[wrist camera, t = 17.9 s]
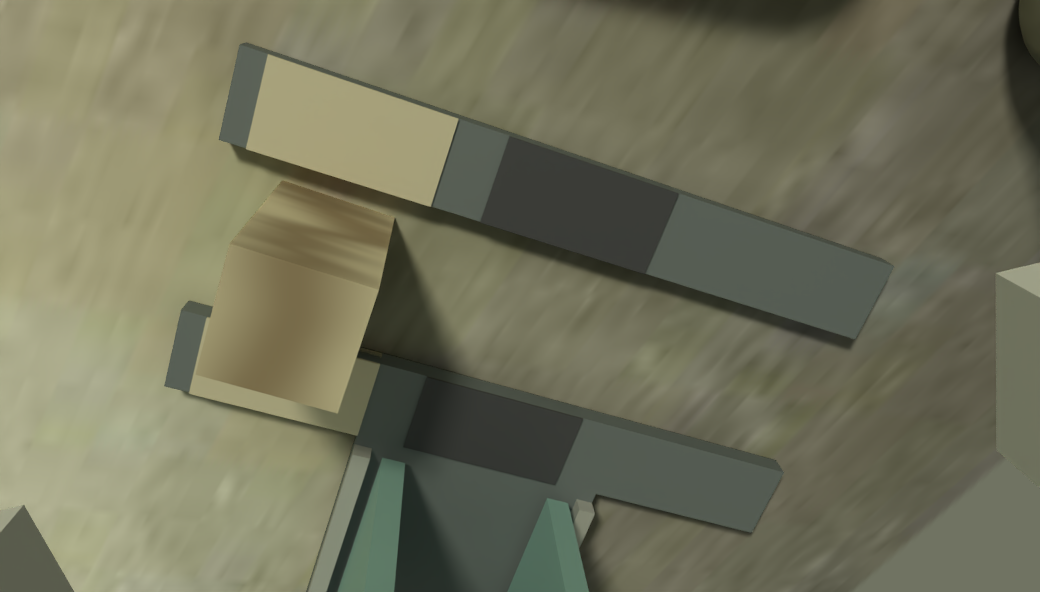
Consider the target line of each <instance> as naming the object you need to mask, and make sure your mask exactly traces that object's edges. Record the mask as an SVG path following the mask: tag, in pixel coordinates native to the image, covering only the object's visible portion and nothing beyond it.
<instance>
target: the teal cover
mask: <svg viewBox="0 0 1040 592" xmlns="http://www.w3.org/2000/svg"><path fill="white" fill-rule="evenodd" d="M404 471H405V463H403V462H399V461H395V460H391V459H386V458H382V460H381V463H380V466H379V469H378V472H377V475H376V478H375V481H374V484H373V487H372V490H371V493H370V496H369V499H368V502H367V505H366V508H365V511H364V514H363V517H362V520H361V523H360V526H359V529H358V532H357V535H356V538H355V541H354V544H353V547H352V550H351V553H350V556H349V559H348V562H347V565H346V568H345V571H344V574H343V577H342V580H341V582H340V585H339V588H338V591H337V592H394V587H395V576H396V564H397V552H398V541H399V529H400V517H401V506H402V494H403V482H404ZM507 592H589V590H588V586H587V581H586V577H585V573H584V569H583V564H582V560H581V556H580V552H579V547H578V543H577V539H576V535H575V530H574V526H573V522H572V518H571V513H570V509H569V505H568V503H566V502H562V501H558V500H553V499H549V498H547V499H546V502H545V504H544V507H543V509H542V511H541V514H540V516H539V518H538V521H537V523H536V525H535V528H534V530H533V532H532V535H531V537H530V540H529V542H528V544H527V547H526V549H525V551H524V554H523V556H522V558H521V561H520V563H519V566H518V568H517V570H516V573H515V575H514V577H513V580H512V582H511V584H510V587H509V589H508V591H507Z"/></svg>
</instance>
